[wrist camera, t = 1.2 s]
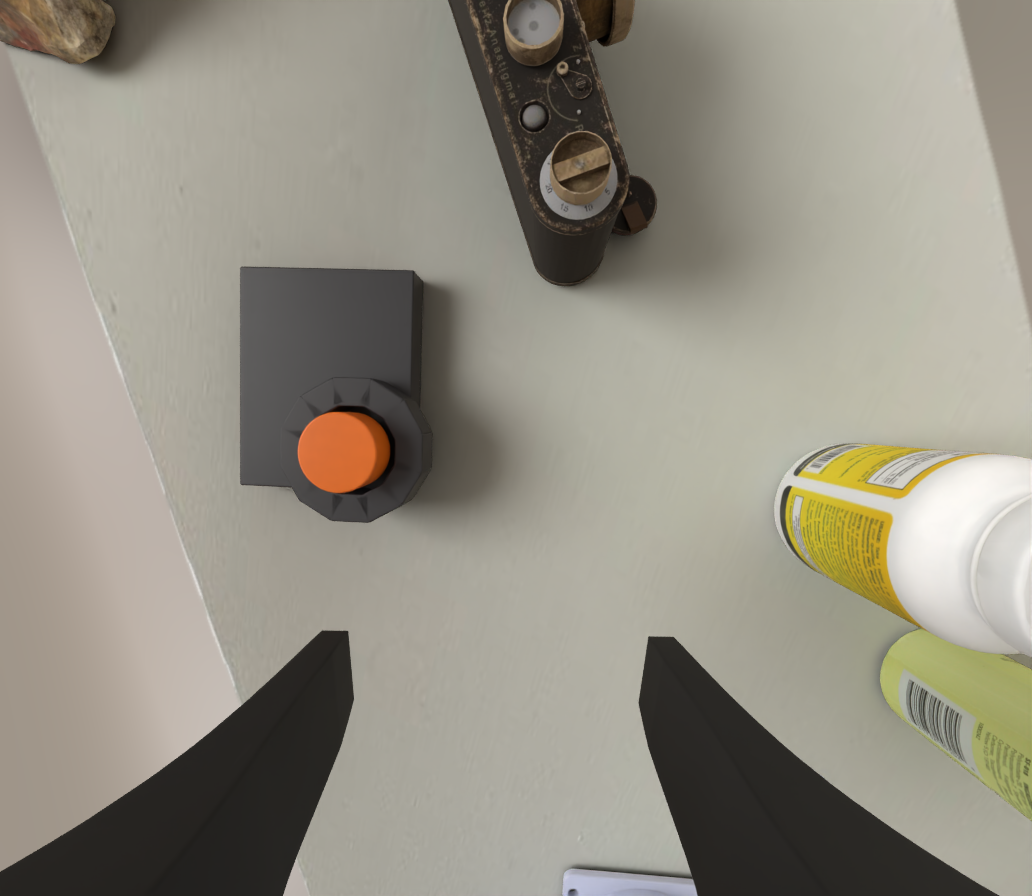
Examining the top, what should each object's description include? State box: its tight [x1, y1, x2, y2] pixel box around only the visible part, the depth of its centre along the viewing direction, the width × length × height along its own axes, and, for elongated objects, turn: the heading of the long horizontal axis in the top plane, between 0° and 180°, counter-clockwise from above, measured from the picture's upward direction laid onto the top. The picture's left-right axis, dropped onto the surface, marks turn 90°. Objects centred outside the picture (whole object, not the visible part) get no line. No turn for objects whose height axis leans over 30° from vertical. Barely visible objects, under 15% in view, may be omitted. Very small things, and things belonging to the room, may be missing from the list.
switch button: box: [298, 412, 390, 493], centre depth 19 cm, size 3×3×2 cm
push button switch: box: [240, 267, 433, 523], centre depth 22 cm, size 11×9×4 cm
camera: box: [448, 0, 657, 286], centre depth 18 cm, size 16×7×8 cm, turn 18°
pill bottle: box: [774, 443, 1032, 658], centre depth 17 cm, size 6×6×11 cm
